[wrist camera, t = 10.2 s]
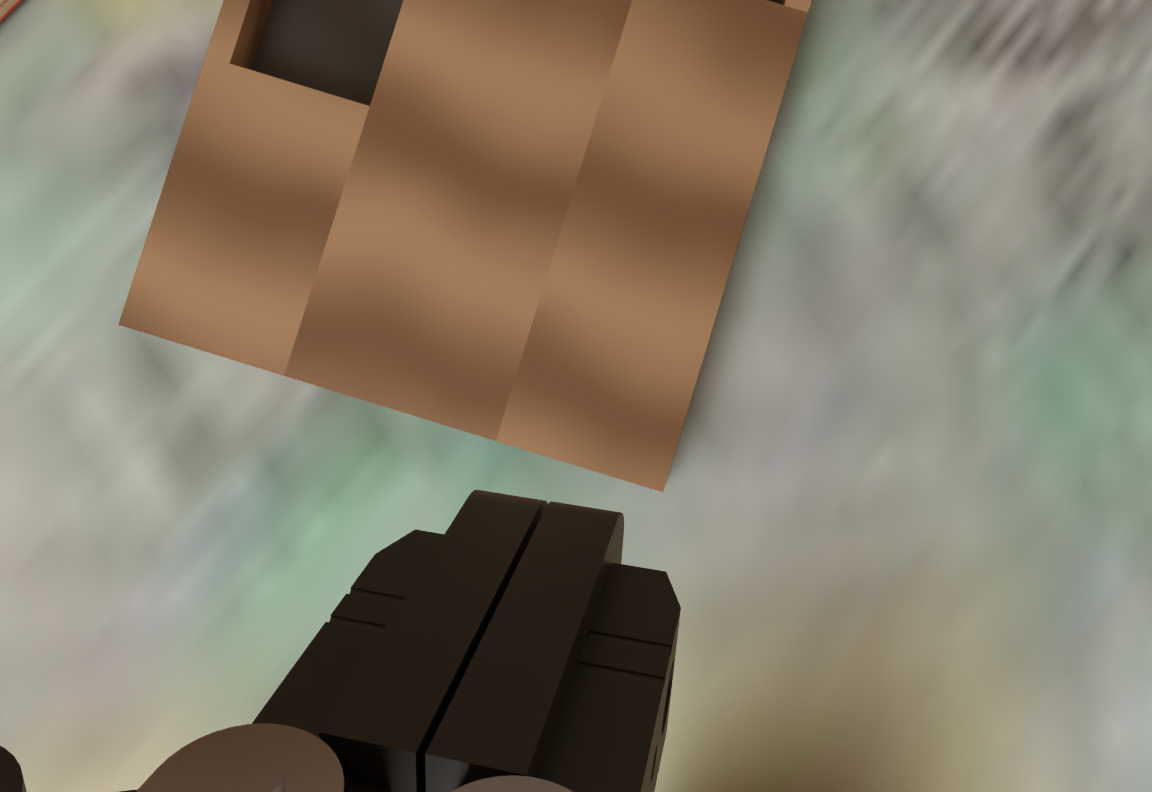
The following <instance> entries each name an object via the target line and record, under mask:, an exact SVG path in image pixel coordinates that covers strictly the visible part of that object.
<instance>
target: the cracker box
mask: <svg viewBox="0 0 1152 792" xmlns="http://www.w3.org/2000/svg"><path fill="white" fill-rule="evenodd" d="M22 1H23V0H0V22H1V21H2V20H3V19H5V18H6V17H7V16H8V15H9V14H10V13H11V12H12V11H13V10H14V9H15V8H16V7H17V6H18V5H19V4H20V3H21V2H22Z"/></svg>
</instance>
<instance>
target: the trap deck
mask: <svg viewBox="0 0 1152 792" xmlns="http://www.w3.org/2000/svg"><path fill="white" fill-rule="evenodd" d="M811 2H812V0H224V1H223V5H222V8H221V11H220V14H219V17H218V20H217V23H216V26H215V29H214V32H213V35H212V38H211V41H210V45H209V48H208V51H207V54H206V57H205V60H204V63H203V66H202V69H201V72H200V75H199V78H198V81H197V85H196V88H195V91H194V94H193V97H192V100H191V103H190V106H189V109H188V112H187V115H186V118H185V122H184V125H183V128H182V131H181V134H180V137H179V140H178V143H177V146H176V149H175V152H174V155H173V158H172V162H171V165H170V168H169V171H168V174H167V177H166V180H165V183H164V186H163V189H162V192H161V195H160V198H159V202H158V205H157V208H156V211H155V214H154V217H153V220H152V223H151V226H150V229H149V232H148V235H147V239H146V242H145V245H144V248H143V251H142V254H141V257H140V260H139V263H138V266H137V269H136V272H135V275H134V279H133V282H132V285H131V288H130V291H129V294H128V297H127V300H126V303H125V306H124V309H123V312H122V315H121V319H120V322H119V325H121V326H125V327H128V328H131V329H134V330H138V331H141V332H144V333H147V334H151V335H154V336H157V337H160V338H164V339H167V340H170V341H173V342H177V343H180V344H183V345H186V346H190V347H193V348H196V349H199V350H203V351H206V352H209V353H212V354H216V355H219V356H222V357H225V358H229V359H232V360H235V361H238V362H242V363H245V364H248V365H251V366H255V367H258V368H261V369H264V370H268V371H271V372H274V373H277V374H281V375H284V376H287V377H290V378H294V379H297V380H300V381H303V382H307V383H310V384H313V385H316V386H320V387H323V388H326V389H329V390H333V391H336V392H339V393H342V394H346V395H349V396H352V397H355V398H359V399H362V400H365V401H368V402H372V403H375V404H378V405H381V406H385V407H388V408H391V409H394V410H398V411H401V412H404V413H407V414H411V415H414V416H417V417H420V418H424V419H427V420H430V421H433V422H437V423H440V424H443V425H446V426H450V427H453V428H456V429H459V430H463V431H466V432H469V433H472V434H476V435H479V436H482V437H485V438H489V439H492V440H495V441H498V442H502V443H505V444H508V445H511V446H515V447H518V448H521V449H524V450H528V451H531V452H534V453H537V454H541V455H544V456H547V457H550V458H554V459H557V460H560V461H563V462H567V463H570V464H573V465H576V466H580V467H583V468H586V469H589V470H593V471H596V472H599V473H602V474H606V475H609V476H612V477H615V478H619V479H622V480H625V481H628V482H632V483H635V484H638V485H641V486H645V487H648V488H651V489H654V490H658V491H661V492H663V490H664V487H665V484H666V480H667V477H668V474H669V470H670V467H671V464H672V461H673V457H674V454H675V451H676V447H677V444H678V441H679V437H680V434H681V431H682V428H683V424H684V421H685V418H686V414H687V411H688V408H689V404H690V401H691V398H692V395H693V391H694V388H695V385H696V381H697V378H698V375H699V371H700V368H701V365H702V362H703V358H704V355H705V352H706V348H707V345H708V342H709V338H710V335H711V332H712V329H713V325H714V322H715V319H716V315H717V312H718V309H719V305H720V302H721V299H722V296H723V292H724V289H725V286H726V282H727V279H728V276H729V273H730V269H731V266H732V263H733V259H734V256H735V253H736V249H737V246H738V243H739V240H740V236H741V233H742V230H743V226H744V223H745V220H746V216H747V213H748V210H749V207H750V203H751V200H752V197H753V193H754V190H755V187H756V183H757V180H758V177H759V174H760V170H761V167H762V164H763V160H764V157H765V154H766V150H767V147H768V144H769V141H770V137H771V134H772V131H773V127H774V124H775V121H776V117H777V114H778V111H779V108H780V104H781V101H782V98H783V94H784V91H785V88H786V84H787V81H788V78H789V75H790V71H791V68H792V65H793V61H794V58H795V55H796V51H797V48H798V45H799V42H800V38H801V35H802V32H803V28H804V25H805V22H806V18H807V15H808V12H809V9H810V5H811Z"/></svg>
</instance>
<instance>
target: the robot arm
mask: <svg viewBox="0 0 1152 792" xmlns="http://www.w3.org/2000/svg"><path fill="white" fill-rule="evenodd" d="M623 533H624V517H623V513H620V512H614V511H607V510H601V509H595V508H589V507H582V506H576V505H570V504H564V503H557V502H550V503H549V504H548V503H547V502H546V501H543V500H537V499H531V498H525V497H518V496H512V495H506V494H500V493H493V492H487V491H481V490H474V491H473V492H472V493H471V494H470V495H469V497H468V498H467V500H466V502H465V503H464V505H463V506H462V508H461V509H460V511H459V513H458V514H457V516H456V517H455V519H454V520H453V522H452V524H451V525H450V527H449V528H448V530H447V531H446V533H445V535H444V534H438V533H432V532H426V531H420V530H414V531H412V532H411V533H409V534H407V535H406V536H404V537H402V538H401V539H399V540H398V541H396V542H394V543H393V544H391V545H389V546H388V547H386V548H385V549H383V550H381V551H380V552H378V553H376V554H375V555H374V556H373V558H372V559H371V561H370V562H369V563H368V565H367V566H366V567H365V569H364V570H363V572H362V573H361V574H360V576H359V577H358V578H357V580H356V581H355V583H354V584H353V585H352V587H351V592H350V594H346V595H345V596H344V598H343V599H342V600H341V602H340V603H339V605H338V606H337V607H336V609H335V610H334V611H333V613H332V614H331V619H330V622H325V624H324V625H323V627H322V628H321V629H320V631H319V632H318V633H317V635H316V636H315V638H314V639H313V640H312V642H311V643H310V644H309V646H308V647H307V649H306V650H305V651H304V653H303V654H302V655H301V657H300V658H299V660H298V661H297V662H296V664H295V665H294V666H293V668H292V669H291V671H290V672H289V673H288V675H287V676H286V677H285V679H284V680H283V682H282V683H281V684H280V686H279V687H278V688H277V690H276V691H275V693H274V694H273V695H272V697H271V698H270V699H269V701H268V702H267V704H266V705H265V706H264V708H263V709H262V710H261V712H260V713H259V715H258V716H257V717H256V719H255V720H254V721H253V723H252V724H246V725H241V726H235V727H230V728H226V729H223V730H220V731H216V732H213V733H211V734H208V735H206V736H204V737H201V738H199V739H197V740H195V741H193V742H191V743H190V744H188V745H186V746H184V747H183V748H181V749H180V750H178V751H177V752H176V753H174V754H173V755H172V756H170V757H169V758H168V759H167V760H166V761H165V762H164V763H162V764H161V765H160V766H159V767H158V768H157V769H156V770H155V771H154V772H153V774H152V775H151V776H150V777H149V778H148V779H147V780H146V781H145V782H144V783H143V785H142V786H141V787H140V788H139V789H138V790H130V791H121V792H654V791H655V786H656V780H657V774H658V771H659V766H660V761H661V756H662V751H663V746H664V741H665V736H666V731H667V723H668V714H669V705H670V697H671V688H672V679H673V670H674V662H675V653H676V644H677V636H678V627H679V618H680V610H681V607H680V605H679V602H678V600H677V597H676V595H675V592H674V590H673V588H672V585H671V583H670V580H669V578H668V575H667V573H666V572H664V571H658V570H652V569H646V568H641V567H635V566H629V565H623V564H621V558H622V546H623ZM0 792H26V788H25V784H24V779H23V775H22V771H21V767H20V765H19V763H18V762H17V760H16V759H15V757H14V756H13V755H12V754H11V753H10V752H9V751H7V750H6V749H5V748H3V747H1V746H0Z"/></svg>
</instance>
